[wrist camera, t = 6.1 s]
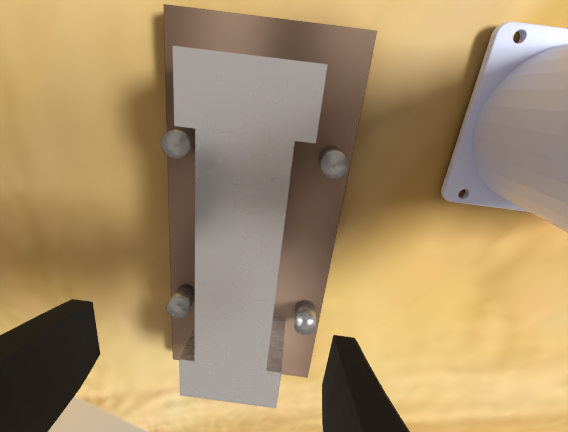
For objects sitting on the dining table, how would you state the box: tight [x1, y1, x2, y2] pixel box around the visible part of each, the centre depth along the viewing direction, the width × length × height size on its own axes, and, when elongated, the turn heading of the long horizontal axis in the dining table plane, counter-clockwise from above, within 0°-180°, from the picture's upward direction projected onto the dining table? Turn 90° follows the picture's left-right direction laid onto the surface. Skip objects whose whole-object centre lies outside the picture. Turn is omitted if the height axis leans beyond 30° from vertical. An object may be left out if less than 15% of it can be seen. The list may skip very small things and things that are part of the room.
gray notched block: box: [173, 46, 328, 408], centre depth 15 cm, size 5×16×4 cm, turn 174°
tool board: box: [161, 4, 377, 378], centre depth 16 cm, size 9×20×2 cm, turn 173°
